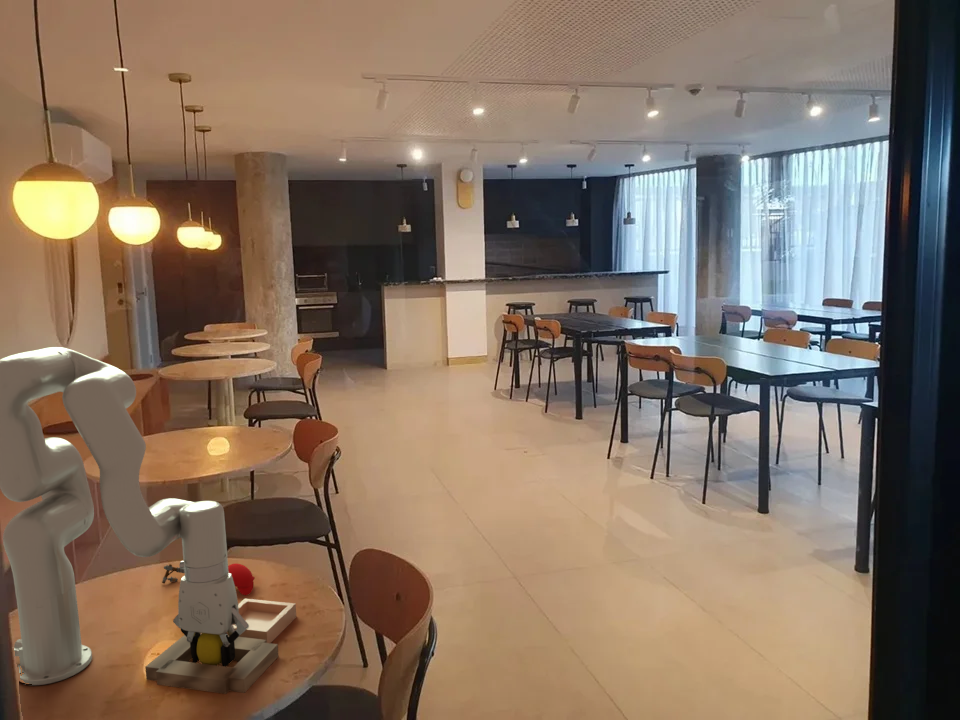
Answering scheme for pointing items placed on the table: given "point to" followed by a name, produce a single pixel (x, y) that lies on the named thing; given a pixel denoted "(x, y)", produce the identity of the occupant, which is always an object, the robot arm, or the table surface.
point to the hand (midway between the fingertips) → (213, 660)
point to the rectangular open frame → (212, 667)
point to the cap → (242, 578)
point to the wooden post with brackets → (170, 568)
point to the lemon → (209, 649)
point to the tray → (265, 618)
